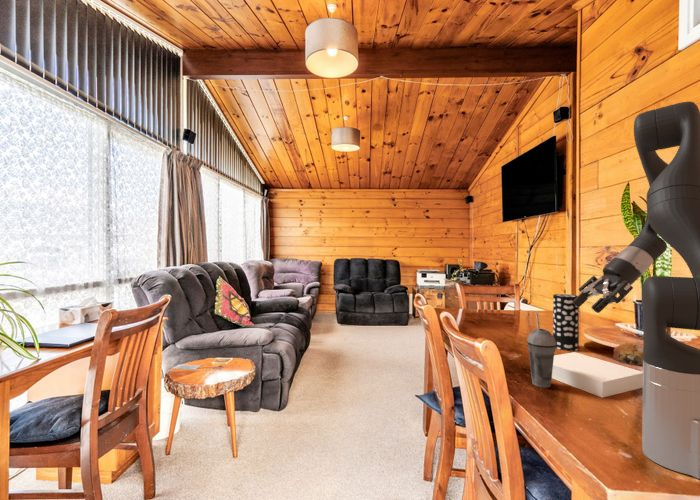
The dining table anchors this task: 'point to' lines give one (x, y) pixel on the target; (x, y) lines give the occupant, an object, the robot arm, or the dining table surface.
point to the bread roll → (629, 353)
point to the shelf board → (595, 374)
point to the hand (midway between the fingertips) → (584, 307)
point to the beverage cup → (541, 356)
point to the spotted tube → (565, 322)
